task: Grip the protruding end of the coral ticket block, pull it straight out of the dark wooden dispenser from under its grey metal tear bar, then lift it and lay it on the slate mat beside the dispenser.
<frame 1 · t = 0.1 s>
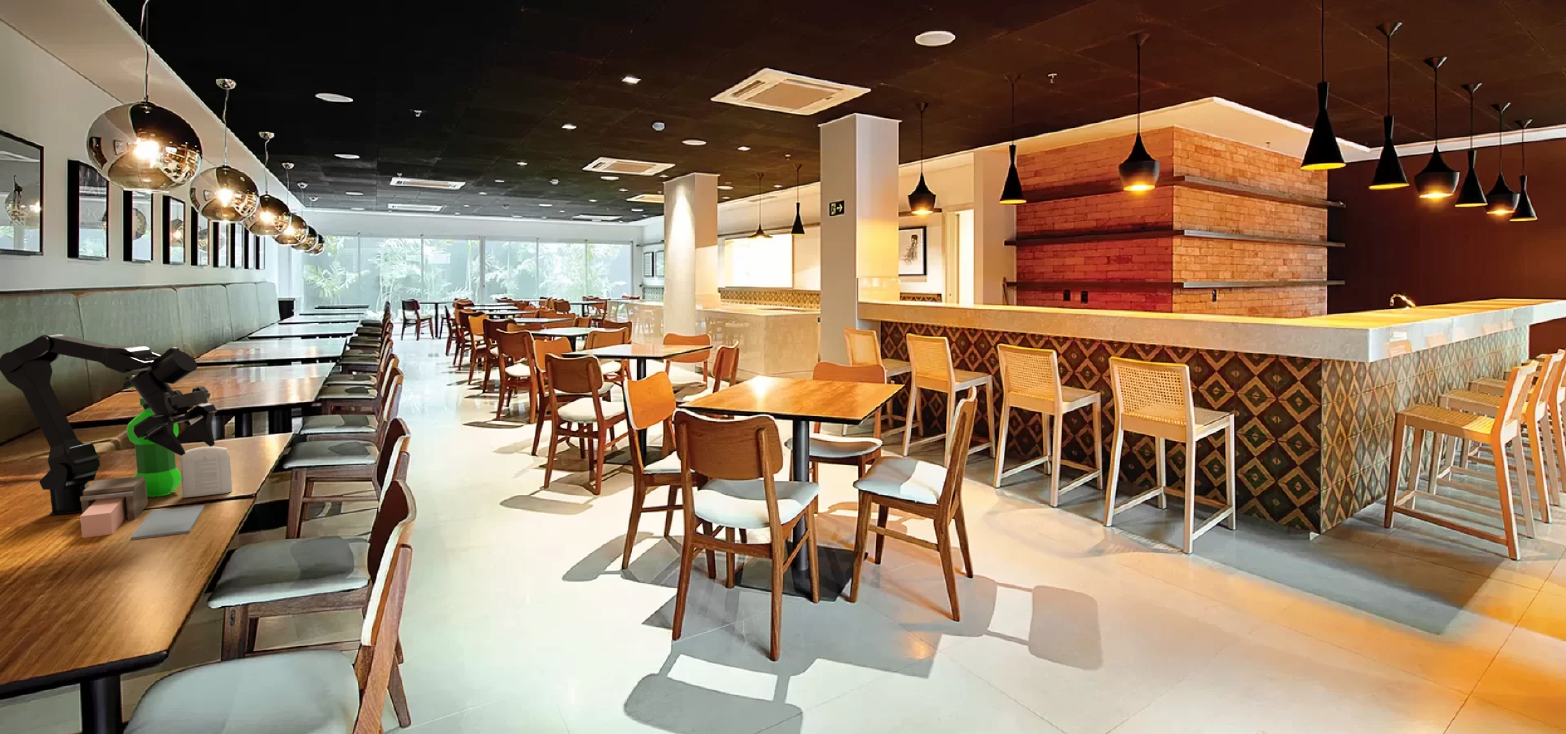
hand: (198, 450, 182), 15 cm above the table, tool tilted 30°, fingers open, 9 cm apart
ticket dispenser: (116, 514, 181), on the table
white arched slab: (208, 495, 198), on the table
ticket block: (107, 525, 174), on the table
plastic bottle: (158, 494, 198), on the table
slate mat: (170, 522, 176), on the table
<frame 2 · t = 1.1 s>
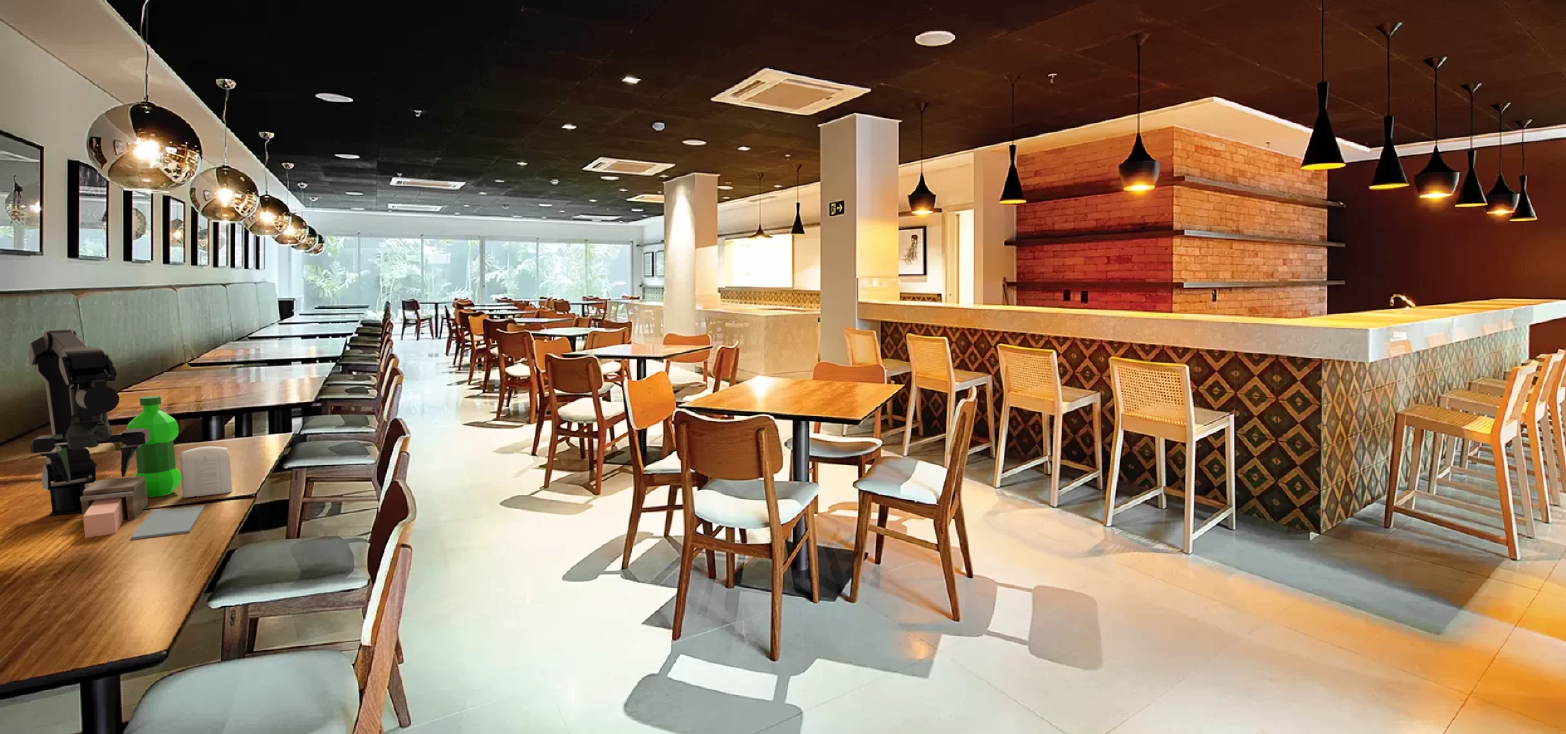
hand: (96, 479, 169), 12 cm above the table, tool pointing down, fingers open, 9 cm apart
nothing on the table moved.
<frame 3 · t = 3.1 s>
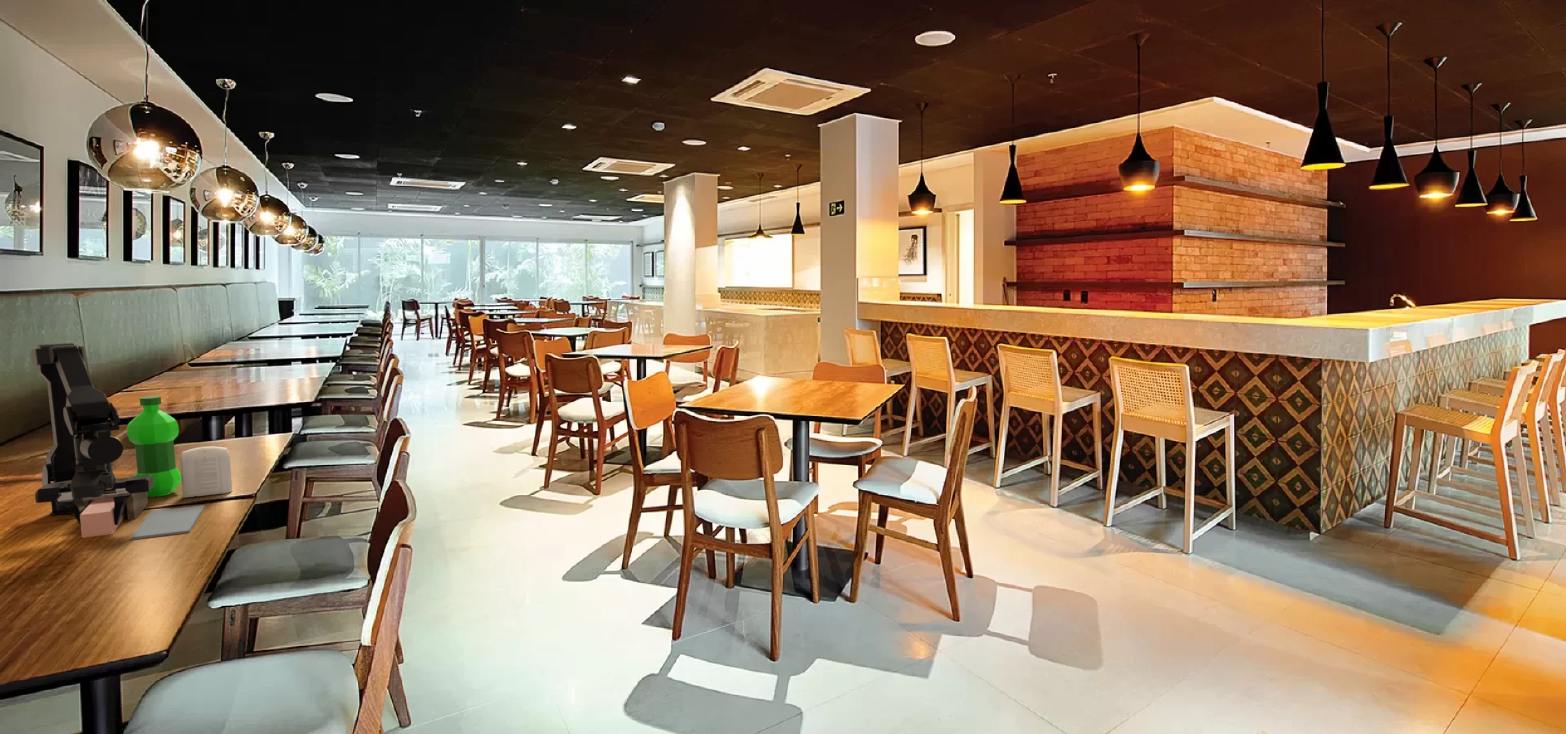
hand: (100, 526, 170), 1 cm above the table, tool pointing down, fingers closed on ticket block, 5 cm apart
ticket block: (106, 524, 174), on the table, touching gripper
everything else where it was.
when the fingers open (3 cm above the table, at t = 10.3 s): ticket block drops 1 cm, resting on slate mat.
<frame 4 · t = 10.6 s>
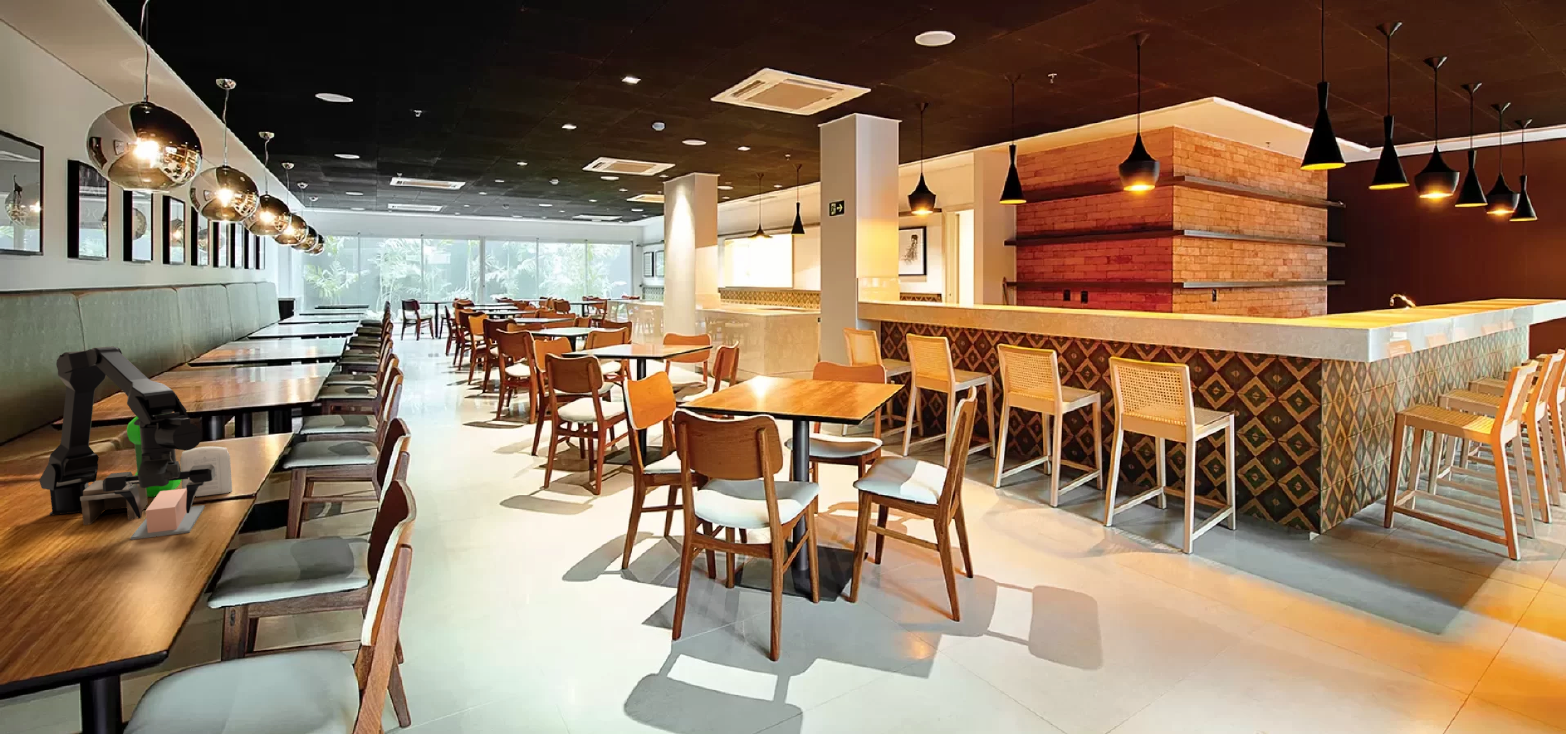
hand: (164, 515, 171), 3 cm above the table, tool pointing down, fingers open, 8 cm apart
ticket block: (169, 520, 176), resting on slate mat
everything else where it was.
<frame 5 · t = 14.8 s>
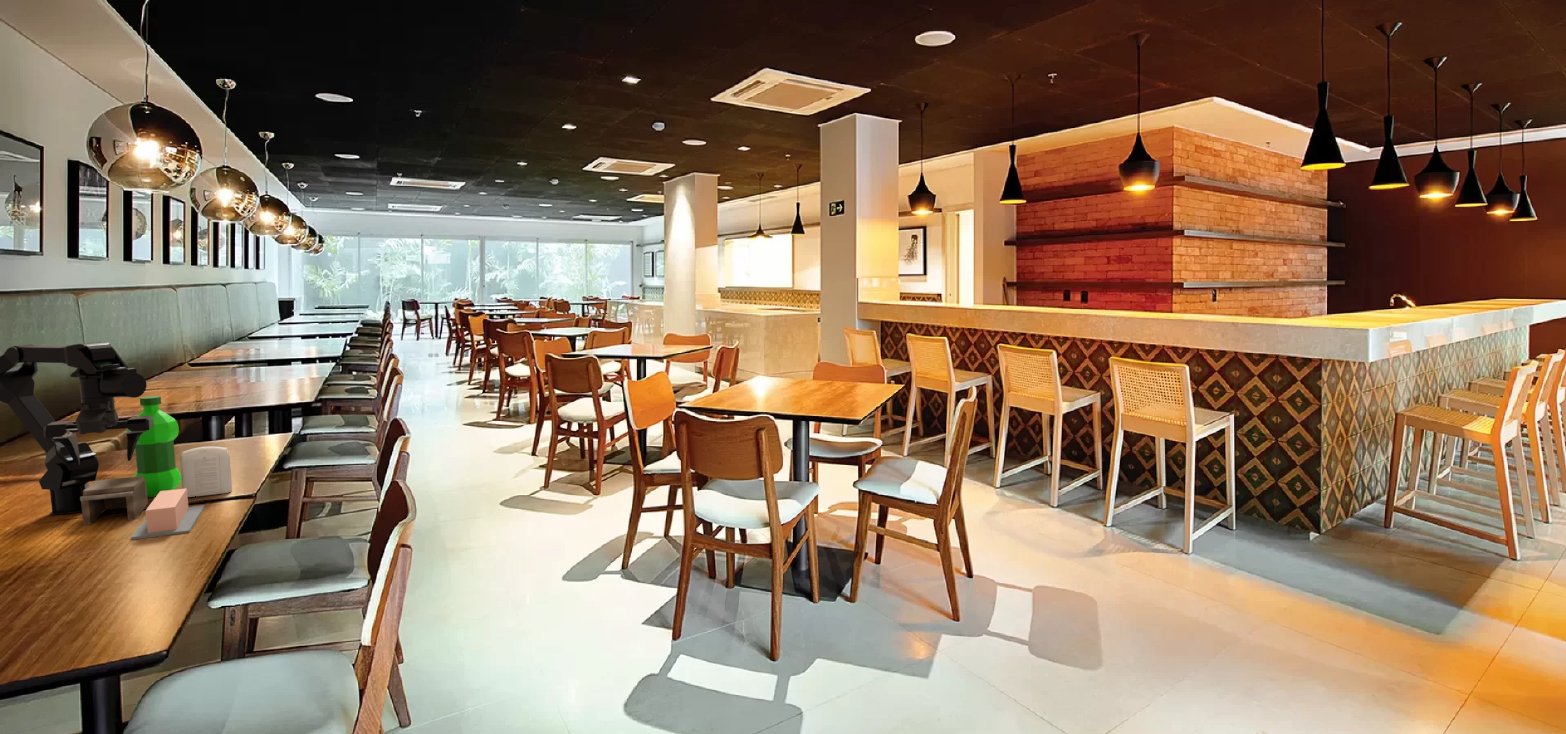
hand: (104, 462, 181), 12 cm above the table, tool pointing down, fingers open, 9 cm apart
nothing on the table moved.
at the end: ticket block inside the target area (0.1 cm from its centre), point 0.5 cm above the table; ticket block touching slate mat; the gripper is holding nothing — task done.
